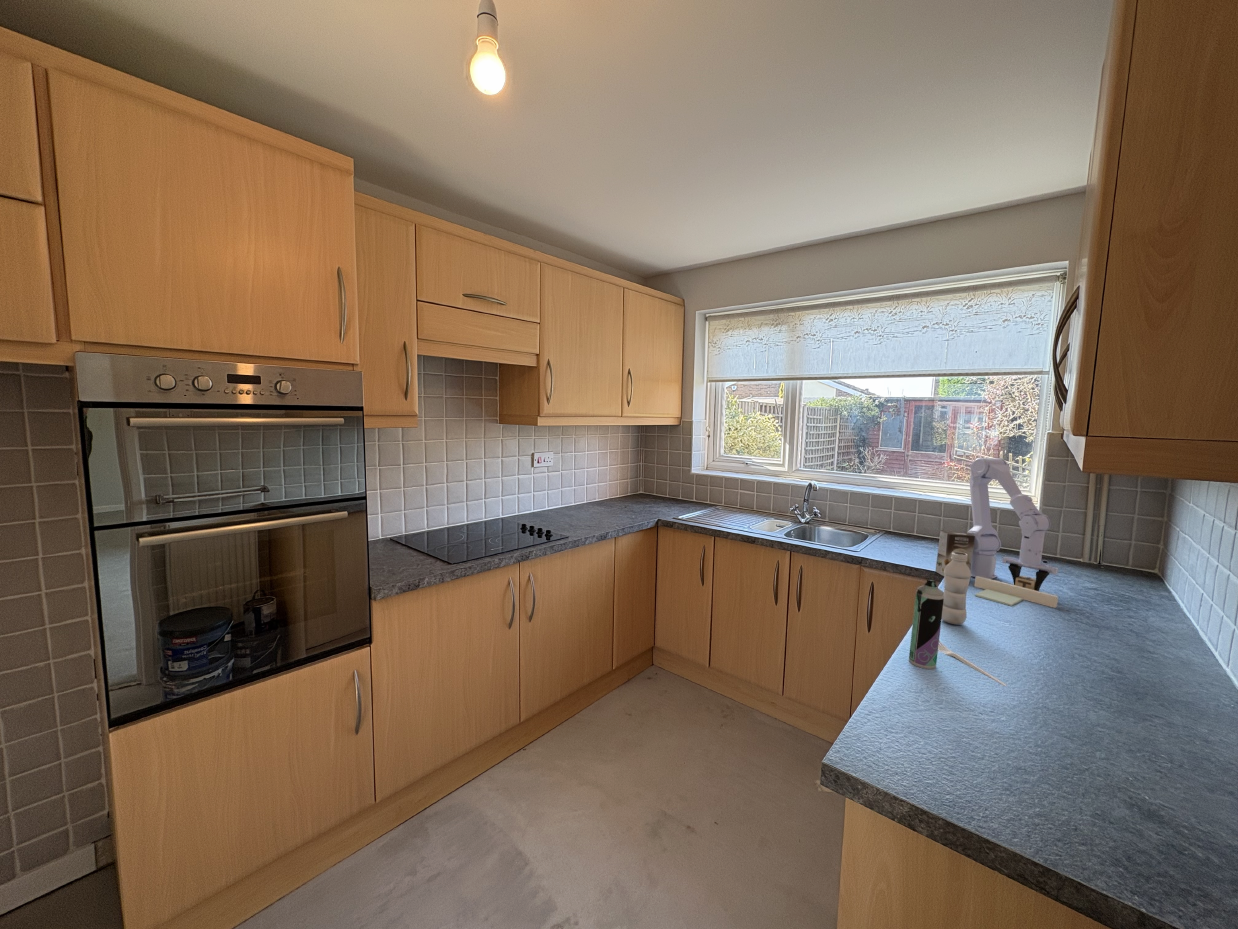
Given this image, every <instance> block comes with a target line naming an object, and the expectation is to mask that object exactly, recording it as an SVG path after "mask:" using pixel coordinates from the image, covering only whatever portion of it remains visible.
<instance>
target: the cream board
mask: <svg viewBox="0 0 1238 929" xmlns="http://www.w3.org/2000/svg"><path fill="white" fill-rule="evenodd" d="M974 579H975V580H974V587H975V588H979V589H983V590H985V589H989V590H993V591H996V592H1000V593H1004V594H1008V595H1011V596H1015V597H1019V598H1023V600H1024V601H1029V602H1031V603H1035V604H1039V605H1043V606H1046V607H1051V608H1054V609H1055V608H1057V607H1058V599H1059V596H1058V595H1055V594H1051V593H1047V592H1042V591H1040V590H1039V591H1035V590H1031V589H1027V588H1023V587H1019V586H1015V585H1014V584H1011V583H1007V582H1004V581H1003V582H1002V581H999V580H995V579H987V578H983V577H979V576H976V577H974ZM1023 600H1022V601H1023Z"/></svg>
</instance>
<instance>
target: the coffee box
mask: <svg viewBox="0 0 1238 929" xmlns="http://www.w3.org/2000/svg"><path fill="white" fill-rule="evenodd" d="M939 532H940V533H939V541H938V548H937V555H936V562H935V570H934V571H935V572H936V573H938V574H939V575H941V576H942V577H944V569H945V567H946V566H947V565H948V564H949V563H950V562H951V561H952V559H951V557H952V552H961V553H965V554H967V562H966V564H967V566H968V567H969V569H970V570H971V562H972V555H973V547H974V540H975V536H974V535H972V534H969V533H968V532H966V531H965V532H964V531H956V530H941V529H940V531H939Z"/></svg>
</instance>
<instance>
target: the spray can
mask: <svg viewBox="0 0 1238 929" xmlns="http://www.w3.org/2000/svg"><path fill="white" fill-rule="evenodd" d="M936 583H937V581H936V580H935V579H927V580H926V582H925V583H923V585H921V586H917V588H916V590H915V600H914V607H913V616H912V617H913V619H912V624H911V625H912V626H911V638H910V646H909V653H908V654H909V655H908V662H909V663H910V664H912V665H914V666H915V667H917V668H921V669H924V670H935V669H936V667H937V662H938V653H939V651H938V646H939V644H940V643H939V641H940V636H941V627H942V626H941V625H942V610H943V602H944V590H941V589H940V588H939V586H938V585H937V584H936Z"/></svg>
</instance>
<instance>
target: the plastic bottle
mask: <svg viewBox="0 0 1238 929" xmlns="http://www.w3.org/2000/svg"><path fill="white" fill-rule="evenodd" d="M951 559H952V561H951V562H950V563H949V564H948V565H947V566H946V567H945V569H944V576H943V577H944V578H943V579H944V587H943V588H944V590H943V592H944V602H943V610H942V619H941V621H943V622H945V623H947V624H950V625H959V626H960V625H963V624H964V623H966V621H967V620H966V619H967V593H968V589H969V588H968V587H969V585H970V581H971V578H972V576H971V571H970V569H969V567H968V566H967V564H966V562H967V554H965V553H961V552H952V557H951Z"/></svg>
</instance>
